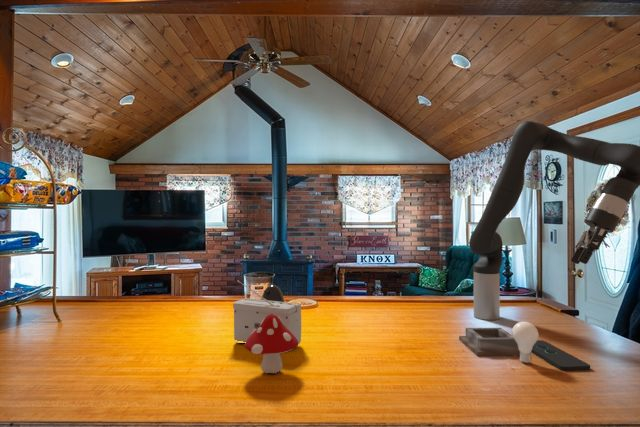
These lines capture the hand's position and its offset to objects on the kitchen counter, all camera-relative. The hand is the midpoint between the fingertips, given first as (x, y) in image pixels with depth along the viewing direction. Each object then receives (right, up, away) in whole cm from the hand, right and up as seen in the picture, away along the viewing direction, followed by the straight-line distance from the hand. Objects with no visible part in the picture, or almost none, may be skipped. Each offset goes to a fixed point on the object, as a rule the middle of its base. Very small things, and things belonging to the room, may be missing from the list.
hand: (577, 262), depth 113 cm
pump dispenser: (-91, -27, +25) cm, 98 cm away
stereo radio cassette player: (-91, -27, +8) cm, 95 cm away
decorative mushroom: (-87, -27, -13) cm, 92 cm away
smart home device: (-9, -27, -3) cm, 28 cm away
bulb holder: (-23, -26, +5) cm, 35 cm away
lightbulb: (-19, -26, -7) cm, 33 cm away
